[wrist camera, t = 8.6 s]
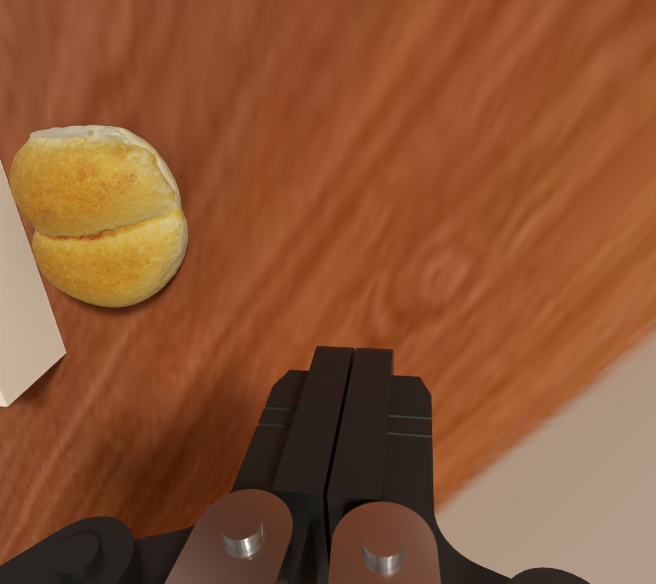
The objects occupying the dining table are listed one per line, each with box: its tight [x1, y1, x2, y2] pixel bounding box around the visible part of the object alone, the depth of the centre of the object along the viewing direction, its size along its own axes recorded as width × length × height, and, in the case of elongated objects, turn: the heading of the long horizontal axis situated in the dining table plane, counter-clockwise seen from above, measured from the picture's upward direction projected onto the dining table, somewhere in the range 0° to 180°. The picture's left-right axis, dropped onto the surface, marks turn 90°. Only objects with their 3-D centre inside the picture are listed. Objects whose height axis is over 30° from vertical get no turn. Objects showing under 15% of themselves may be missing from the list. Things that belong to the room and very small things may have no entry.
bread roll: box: [10, 125, 188, 307], centre depth 25 cm, size 8×9×4 cm
